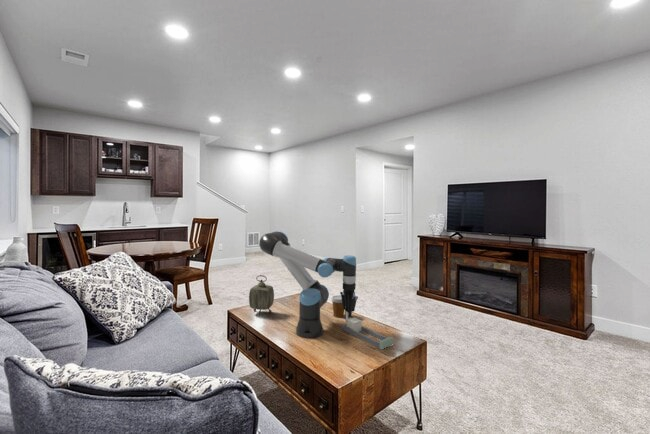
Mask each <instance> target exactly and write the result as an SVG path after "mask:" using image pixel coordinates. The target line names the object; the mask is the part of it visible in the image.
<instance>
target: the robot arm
mask: <svg viewBox="0 0 650 434" xmlns="http://www.w3.org/2000/svg"><path fill="white" fill-rule="evenodd" d="M258 245H259V249H261V251H262V252H263V253H265V254H267V255H269V256H271V257H275V258H279V260H280V261H281V262H282V263H283V265H284V267H286V269H287V270H288V271H289V272H290V274H291V275H292V276H293V278H294V279H295V280H296V282H297V283H298V285H299V287H301V288H302V291H300V293H299V310H298V311H299V319H298V322H297V325H296V328H295V334H296V335H297V336H298V337H301V338H306V339H311V338H313V339H314V338H319V337H321V336H322V335H323V333H324V328H323V324H322V320H321V308H322V307H323V306H324V305H325V304H326V303H327V302H328V300H329V297H330V292H329V289H328V288H327V287H326V286H325V285H324V284H321V283H320V282H319V280H318V279H317V280H316V279H314V278H313V277H312V276H311V274H310V273H309V272H308V270H311V271H313V272H315V273H317V274H318V275H319V276H320V277H321V278H328V277H330V276H331V275H333V274H334V273H335V272H338V273H342V291H340V292H339V294H340V296H341V298H342V305H343V309H344V313H345V323H346V324H347V319H351V318H352V314H353V312H355V310H356V305H357V300H358V299H359V297H358V296H356V292H355V291H356V285H357V284H356V282H357V281H356V280H357V279H356V277H357V258H356V257H355V256H354V255H344V256H343V258H336V257H325V258H323V259H321V258H320V257H316V256H315V255H312V254H309V253H306V252H305V251H301V250H300V249H297V248H294V247H292V246H291V244H290V243H289V238H288V236H287V234H286V233H284V232H282V231H273V232H269V233H265V234H263V235H262V236H261V237H260V239H259V241H258ZM307 269H308V270H307Z"/></svg>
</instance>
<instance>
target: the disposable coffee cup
mask: <svg viewBox="0 0 650 434" xmlns="http://www.w3.org/2000/svg"><path fill="white" fill-rule="evenodd" d="M331 302H332V313H333V316H334V317H335V318H343V317H344V313H345V309H343V305H342V298H341V294H340V295H332V297H331Z"/></svg>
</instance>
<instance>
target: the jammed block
mask: <svg viewBox="0 0 650 434" xmlns="http://www.w3.org/2000/svg"><path fill="white" fill-rule="evenodd" d="M346 326H347V327H349V328H351V329H353V330H355V331H357V332H359V333H361V332H362V331H361V327H362V326H363V323H362V319H359V318H357V317H351V319H347V323H346Z"/></svg>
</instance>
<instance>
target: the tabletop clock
mask: <svg viewBox="0 0 650 434" xmlns="http://www.w3.org/2000/svg"><path fill="white" fill-rule="evenodd" d="M258 277H263V278H265V280H263V279H258ZM255 279H256V281H257V282H258V283H257V284H255V285H253V286H252V287H251V288H250V289H249V293H248V302H249V303H248V304H249V307H250V308H251V309H253V312H256V311H257V310H259V312H258V315H262V311H264V310H265V311H266V310H268V312H269V313H272V310H271V309H270V308H271V307H272V306H273V304H274V301H275V292H274V291H275V290H274V287H273V286H272V285H271V284H270V285H269V284H266V283H265V282H266V281H267V276H266V275H257V276H256V278H255Z"/></svg>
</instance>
